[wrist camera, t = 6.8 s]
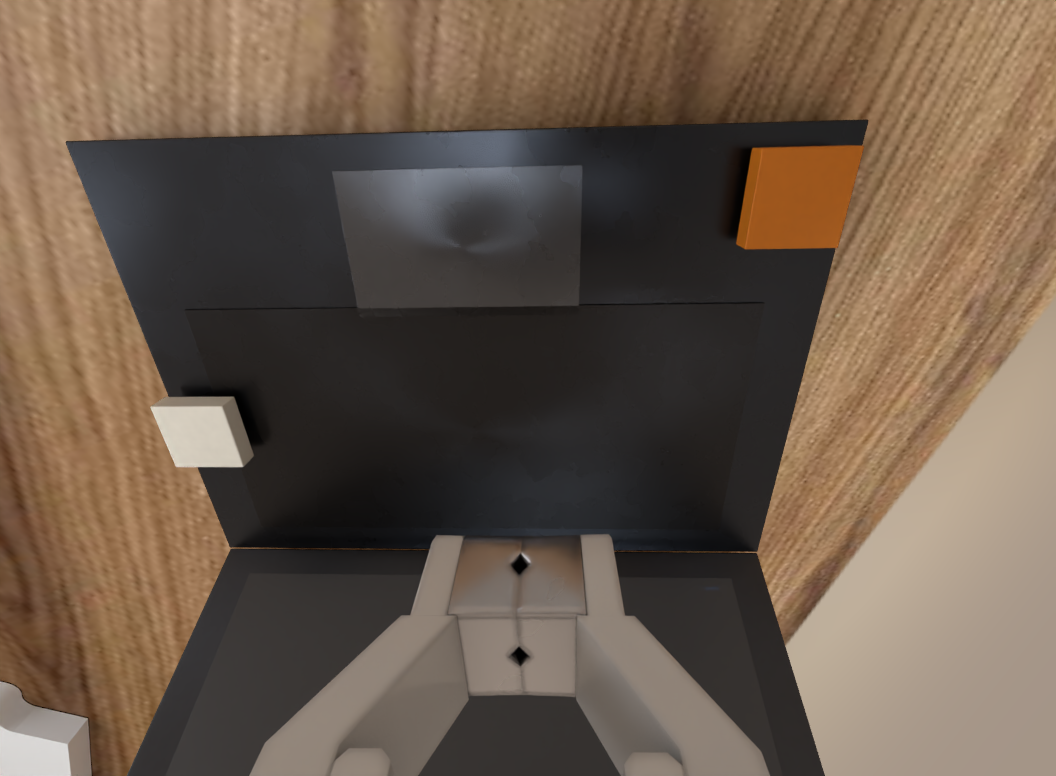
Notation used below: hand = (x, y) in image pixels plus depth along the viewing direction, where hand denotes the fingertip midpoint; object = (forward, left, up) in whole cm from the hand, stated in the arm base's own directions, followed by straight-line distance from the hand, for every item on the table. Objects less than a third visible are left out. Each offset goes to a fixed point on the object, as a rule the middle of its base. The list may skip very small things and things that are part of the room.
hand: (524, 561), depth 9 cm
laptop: (+4, -3, -16) cm, 17 cm away
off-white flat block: (+6, -16, -14) cm, 22 cm away
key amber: (-4, +10, -14) cm, 18 cm away
